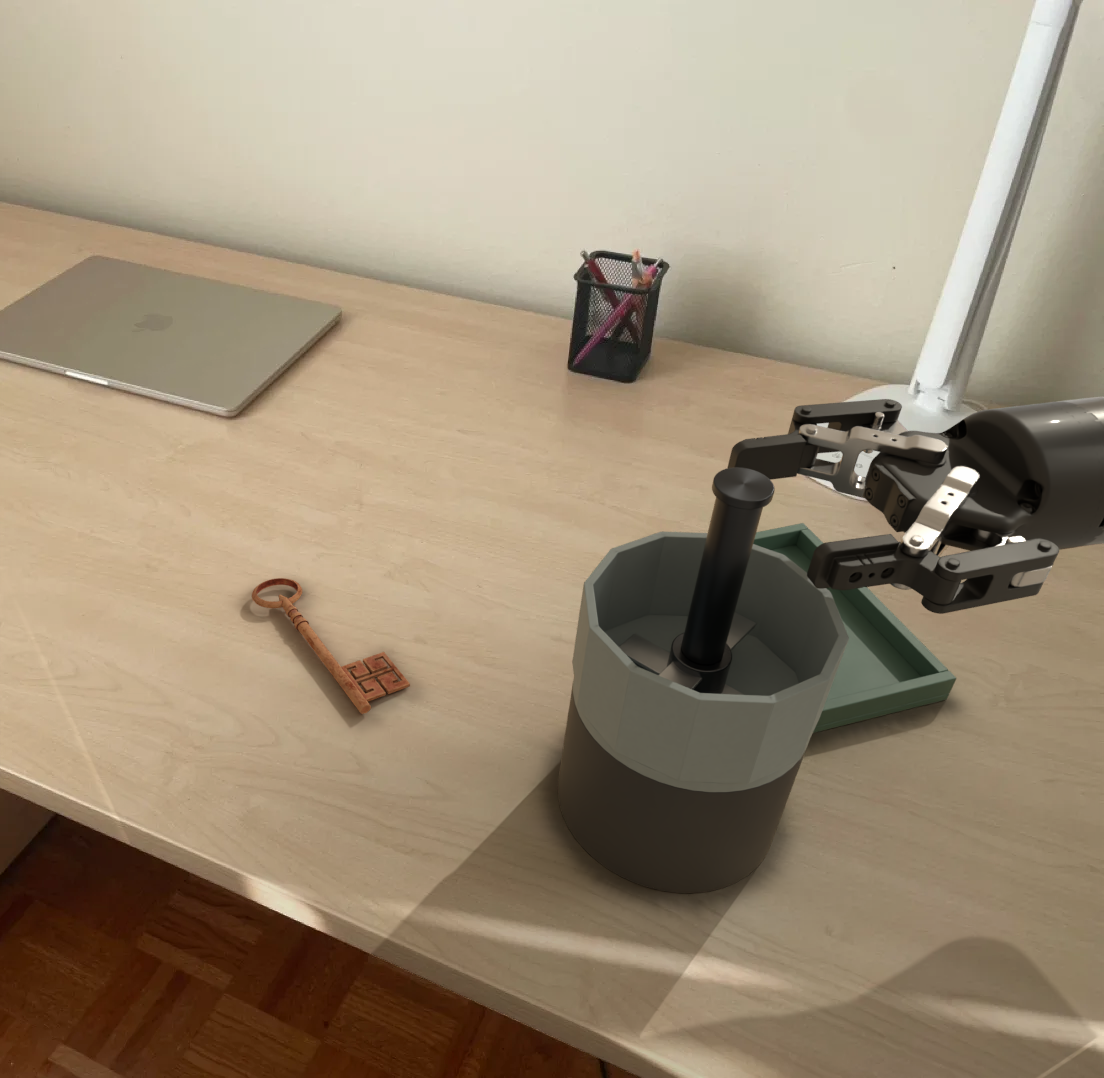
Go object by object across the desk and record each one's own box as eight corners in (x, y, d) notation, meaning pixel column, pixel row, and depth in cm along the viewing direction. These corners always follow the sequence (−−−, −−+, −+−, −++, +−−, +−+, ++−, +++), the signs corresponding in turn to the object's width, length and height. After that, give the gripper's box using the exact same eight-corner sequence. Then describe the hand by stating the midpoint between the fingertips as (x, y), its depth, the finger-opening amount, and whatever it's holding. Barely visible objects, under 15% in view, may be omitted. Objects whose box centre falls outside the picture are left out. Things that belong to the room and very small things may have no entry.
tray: (947, 699, 71) (957, 677, 70) (768, 744, 68) (776, 722, 67) (797, 543, 84) (803, 522, 83) (642, 574, 81) (646, 553, 80)
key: (413, 696, 72) (313, 572, 82) (415, 686, 71) (313, 562, 82) (338, 723, 69) (244, 592, 80) (339, 714, 69) (244, 583, 79)
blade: (806, 686, 59) (877, 481, 50) (723, 780, 54) (787, 570, 45) (665, 611, 64) (708, 412, 55) (578, 691, 59) (610, 486, 50)
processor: (821, 840, 62) (901, 648, 53) (643, 929, 58) (693, 738, 48) (681, 694, 72) (726, 508, 62) (517, 762, 67) (538, 573, 57)
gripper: (1002, 343, 57) (721, 373, 55) (1211, 495, 46) (871, 541, 44) (956, 458, 62) (695, 490, 59) (1136, 621, 51) (825, 669, 48)
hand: (770, 512), depth 52 cm, fingers open, 8 cm apart
